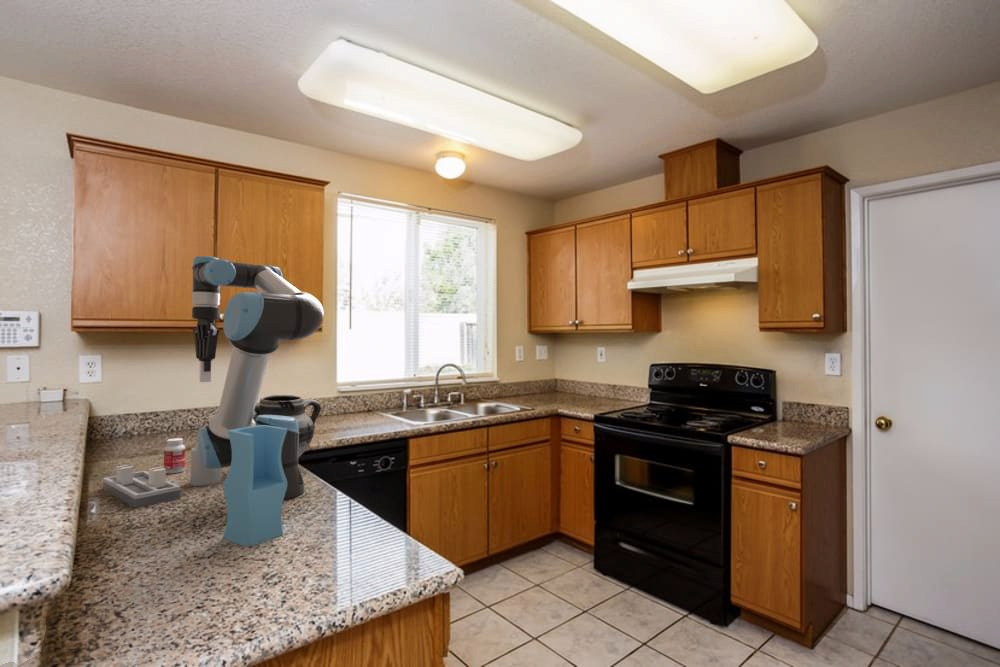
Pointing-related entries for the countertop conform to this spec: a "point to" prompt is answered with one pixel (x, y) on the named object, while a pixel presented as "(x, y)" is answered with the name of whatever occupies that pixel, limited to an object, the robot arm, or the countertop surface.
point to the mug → (202, 471)
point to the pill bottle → (174, 456)
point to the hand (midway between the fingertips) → (205, 381)
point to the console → (141, 490)
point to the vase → (255, 485)
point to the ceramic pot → (291, 414)
